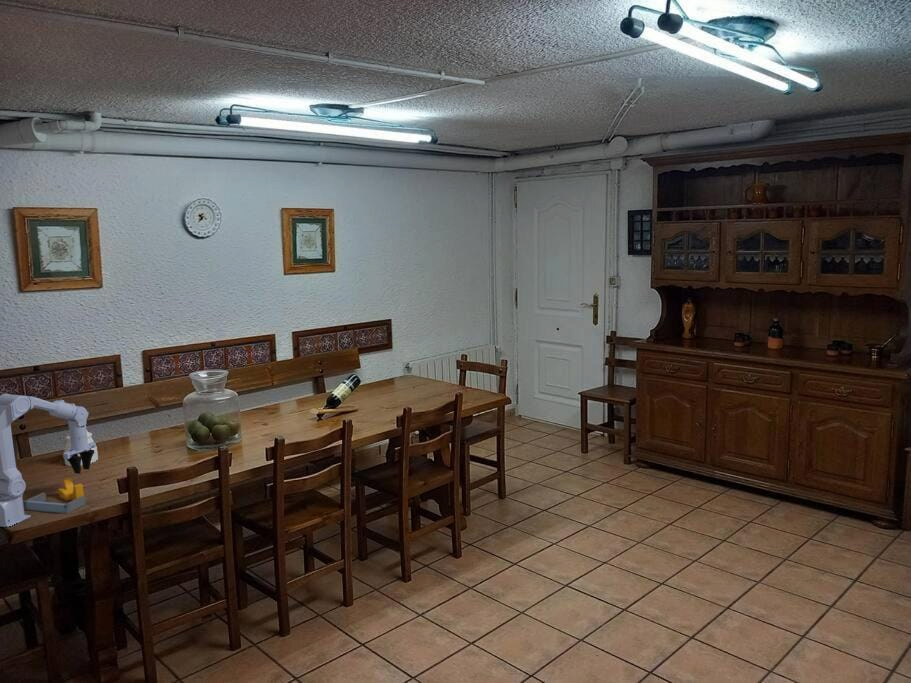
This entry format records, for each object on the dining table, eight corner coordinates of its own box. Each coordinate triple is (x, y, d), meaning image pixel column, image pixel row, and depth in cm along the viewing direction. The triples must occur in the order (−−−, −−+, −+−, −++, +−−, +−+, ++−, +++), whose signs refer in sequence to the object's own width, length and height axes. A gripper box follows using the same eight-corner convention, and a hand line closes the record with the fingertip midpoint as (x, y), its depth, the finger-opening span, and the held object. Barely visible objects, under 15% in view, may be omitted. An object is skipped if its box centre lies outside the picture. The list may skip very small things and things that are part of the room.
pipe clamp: (59, 497, 265) (57, 480, 264) (71, 493, 268) (69, 477, 267) (72, 504, 257) (70, 488, 256) (84, 501, 261) (82, 484, 260)
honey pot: (84, 466, 299) (79, 425, 296) (58, 465, 301) (53, 424, 298) (104, 457, 311) (100, 417, 308) (79, 455, 314) (75, 416, 311)
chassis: (67, 513, 249) (66, 505, 249) (24, 509, 253) (23, 501, 253) (85, 503, 258) (84, 496, 257) (43, 500, 262) (42, 492, 261)
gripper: (73, 443, 258) (76, 478, 260) (101, 431, 272) (104, 465, 274) (56, 442, 260) (60, 477, 262) (85, 431, 273) (89, 464, 276)
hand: (82, 471), depth 268 cm, fingers open, 4 cm apart
